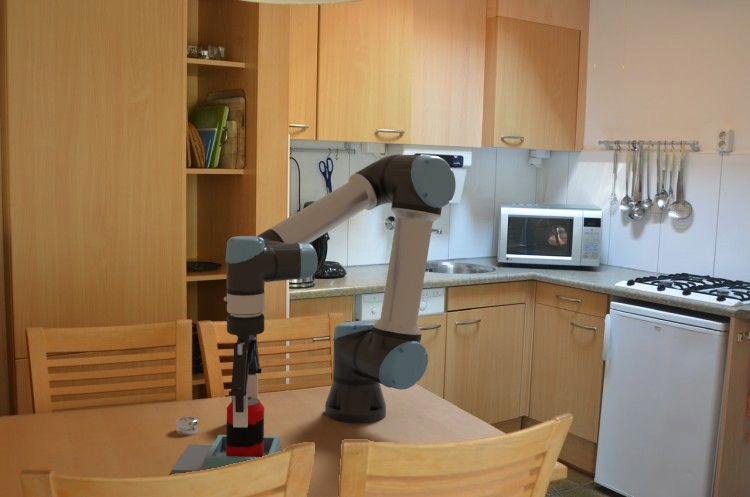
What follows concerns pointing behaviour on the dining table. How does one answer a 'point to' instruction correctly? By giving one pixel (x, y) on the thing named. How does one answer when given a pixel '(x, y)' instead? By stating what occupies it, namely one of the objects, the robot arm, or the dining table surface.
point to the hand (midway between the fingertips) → (246, 415)
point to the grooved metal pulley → (187, 425)
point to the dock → (217, 455)
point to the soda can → (246, 432)
